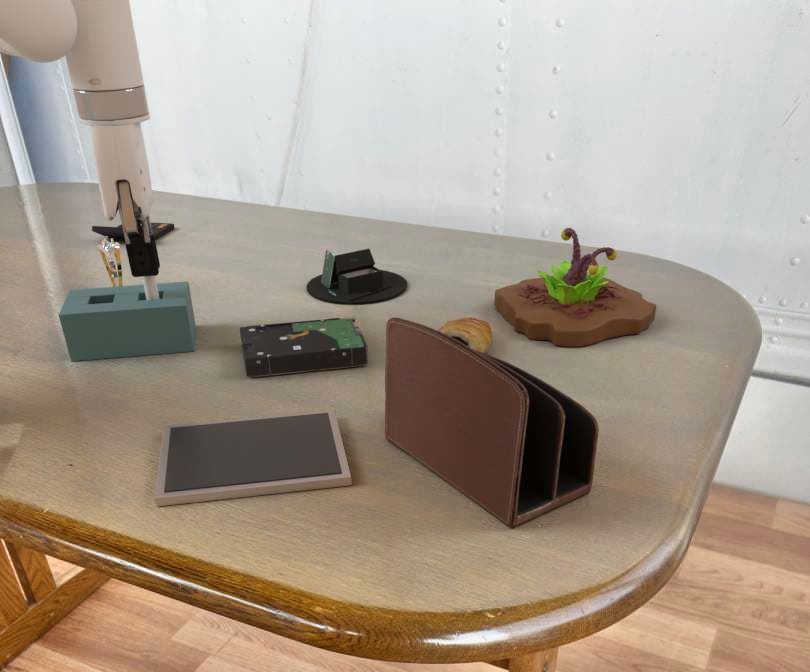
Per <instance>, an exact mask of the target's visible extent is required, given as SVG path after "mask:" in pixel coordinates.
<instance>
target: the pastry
mask: <svg viewBox="0 0 810 672" xmlns="http://www.w3.org/2000/svg"><path fill="white" fill-rule="evenodd" d="M437 331H440V332H442V333H444V334H446V335H448V336H450V337H452V338H454V339H456V340H458V341H460V342H461V343H463V344H465V345H467V346H468V347H470V348H472V349H473V350H476V351H479V352H483V353H485V354H488V352H489V350H490V347H491V345H492V342H493V331H492V327H491V325H490V323H489V322H488V321H485V320H482V319H478V318H476V317H473V316H469V317H461V318H458V319H454V320H448V321H446V323H444V325H442V326H441V327H439V328H438V329H437Z"/></svg>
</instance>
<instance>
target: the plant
mask: <svg viewBox="0 0 810 672" xmlns="http://www.w3.org/2000/svg"><path fill="white" fill-rule="evenodd" d="M560 238H561V240H563V241H569V240H571V239H572V244H573V245H572V250H573V251H572V255H571V257H572V259H571V260H570V262H568V261H566V260H562V261H561V262H560V263H559V266H558V267H555V266H554V265H549V270H550V272H551V273H552V275H550V274H548V273H547V272H545V271H541V270H536V274H538V276H539V277H535V278H529V279H523V280H521V281H519V282H518V283H513V284H510V285H505V286H503V287H500V288H498V289H495V291H494V298H493V299H494V300H493V305H494V309H495V311H497V312H498V313H499V314H502V316H503V319H504V320H505V321H506V322H508V323H509V324H510V325H512V326H514V327H513V330H514V332H516V333H520V334H524V335H525V336H526V337H527V338H528V339H529V340H532V341H549V342H551V343H552V344H553V345H554V346H558V347H568V348H569V347H570V348H579V347H587V346H590V345H594V344H597V343H599V342H602V341H604V340H609V339H613V338H617V337H618V338H619V337H623V336H629V335H631V336H632V335H639V334H641V333H642V332H643V331H645V330H647V329H649V327H650V326H651V324H652V322H654V320H655V317H656V313H657V304H656V303H653V302H650V301H647V300H646V299H644V297H643V294H642V293H641V292H639V291H636V290H634V289H631V288H628V287H625V286H623V285H621V284H619V283H617V282H615V281H614V280H612V279H610V278H607V277H605V276H606V274H607V272H608V271H609V267H608V266H602V267H599V263H598V261H597V260H596V258H597V256H598V255H600V254H602V253H605V255H606V258H607V260H609V261H615V260H616V258H617V257H618V256H617V251H616V250H615V249H614V248H612V247H610V246H607V247H606V246H603V247H600V248H597V249H596V250H595V251H593V252H592V254H591V253H587V254H584V255H583V256H582V254H581V252H582V250H581V244H580V242H579V237H578V234H577V232H576V230H575V229H573V228H572V227H566V228H564V229H563V230H562V231H561V233H560Z"/></svg>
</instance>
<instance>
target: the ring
mask: <svg viewBox="0 0 810 672" xmlns="http://www.w3.org/2000/svg"><path fill="white" fill-rule="evenodd" d="M100 243H101V244H99V243H98V244H97V245H95V247H96V249H98V252H99V254H100V256H101V259H102V261H103V264H104V266H105V269H106V271H107V275H108V277H109V280H110V282H111V285H112V287H118V286H124V285H123V270H122V269H123V268H122V260H121V259H122V258H121V252H120V246H121V245H120V243H119V242H114V238H110V241H109V240H107V238H103V239H102V240H100ZM112 253H113V255H114V257H115V261H114V259H113V256H112ZM115 262H116V265H115ZM116 266H117V267H116Z"/></svg>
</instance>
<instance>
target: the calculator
mask: <svg viewBox="0 0 810 672" xmlns="http://www.w3.org/2000/svg"><path fill="white" fill-rule="evenodd" d="M150 222H151V227H152V235H154V236H155V241H157V240H159V239H160V238H162V237H164V236H165V235H167V234H169V233H170V232H171V230H172V231H173V230H175V229H174V228H175V227H176V226H175V224H174V223H168V222H152V221H150ZM91 231H92V232H93V233H96V234H98V235H101V236H103V237H105V236H108V237H107V238H109V237H120V238H119V239H125V237H124V232H123V227H122V223H121V224H119V225H117V226H102V225H92V226H91ZM166 233H167V234H166Z"/></svg>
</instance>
